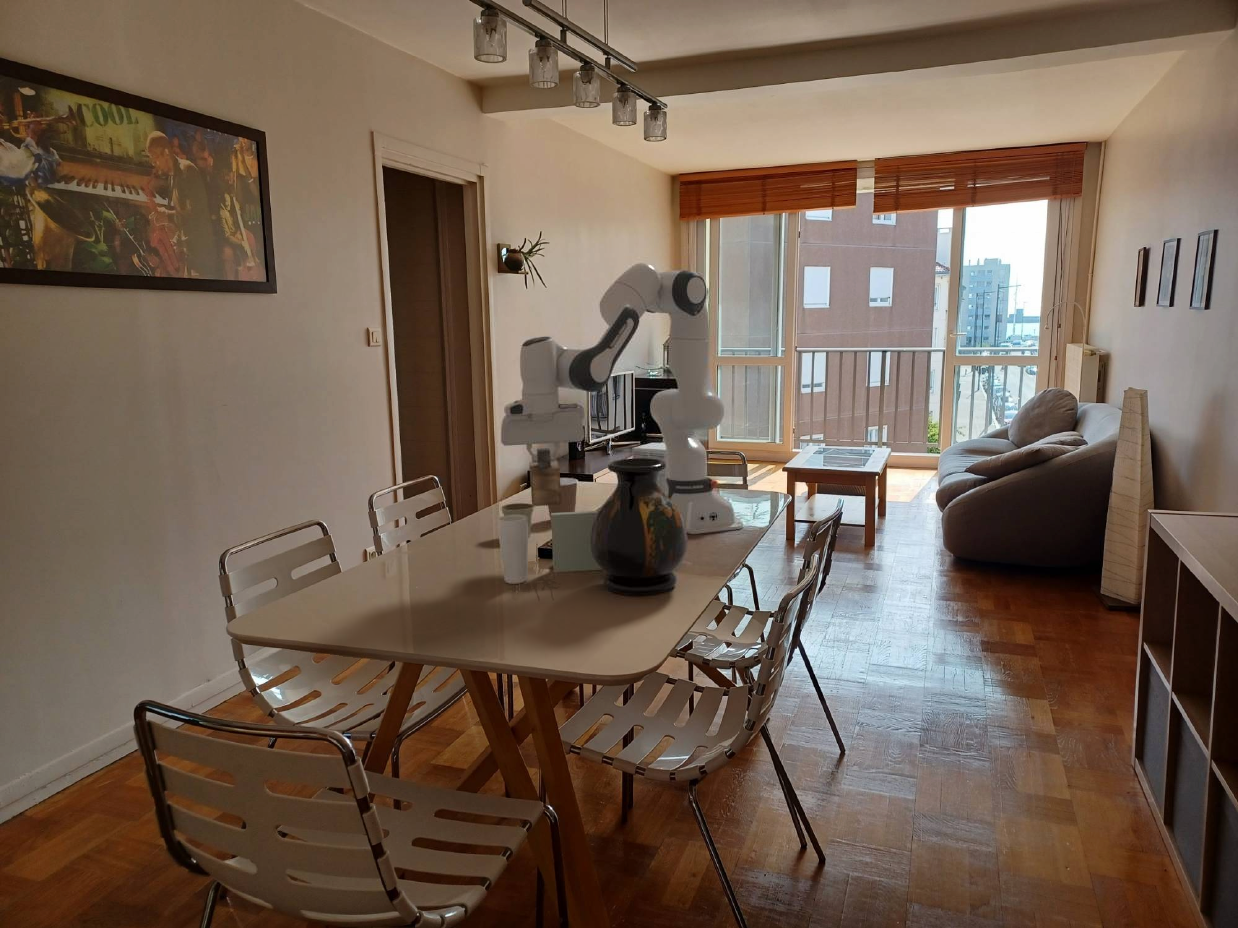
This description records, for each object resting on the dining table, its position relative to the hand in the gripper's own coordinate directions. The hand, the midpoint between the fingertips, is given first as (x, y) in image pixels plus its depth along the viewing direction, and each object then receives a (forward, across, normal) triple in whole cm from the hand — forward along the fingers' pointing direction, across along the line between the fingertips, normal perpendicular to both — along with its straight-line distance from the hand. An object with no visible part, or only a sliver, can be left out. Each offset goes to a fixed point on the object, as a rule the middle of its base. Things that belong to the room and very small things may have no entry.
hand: (544, 461), depth 208 cm
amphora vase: (+26, -19, +25) cm, 40 cm away
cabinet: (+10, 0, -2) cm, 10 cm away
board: (+25, -9, +7) cm, 28 cm away
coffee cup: (+26, -6, -44) cm, 51 cm away
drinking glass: (+25, +8, +15) cm, 31 cm away
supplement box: (+26, -40, -69) cm, 84 cm away
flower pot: (+26, +7, -27) cm, 38 cm away
